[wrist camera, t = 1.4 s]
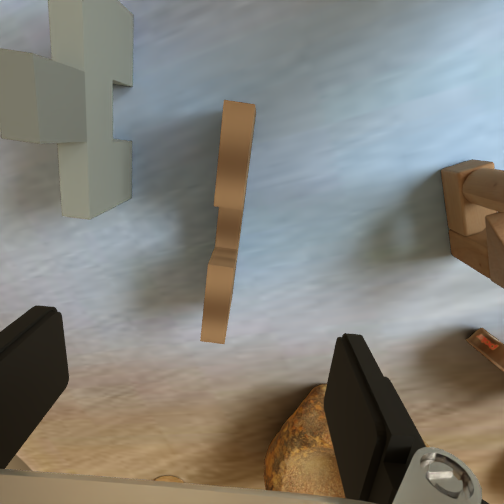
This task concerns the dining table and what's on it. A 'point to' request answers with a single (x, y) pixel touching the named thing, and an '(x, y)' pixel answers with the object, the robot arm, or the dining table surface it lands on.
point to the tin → (488, 347)
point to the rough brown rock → (304, 452)
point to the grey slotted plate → (103, 69)
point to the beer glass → (169, 479)
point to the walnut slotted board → (227, 216)
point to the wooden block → (476, 216)
